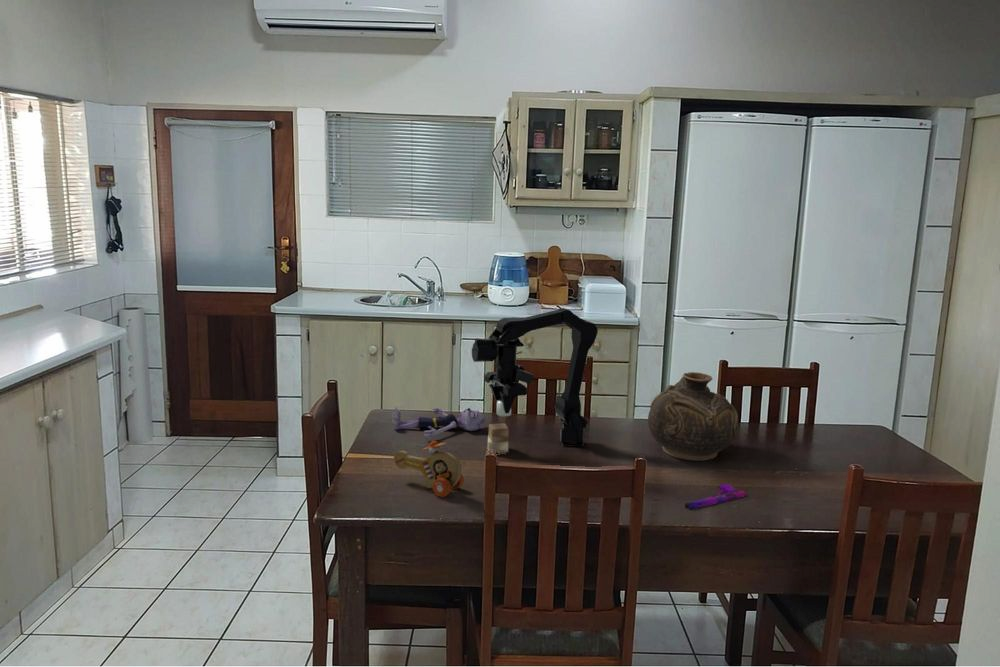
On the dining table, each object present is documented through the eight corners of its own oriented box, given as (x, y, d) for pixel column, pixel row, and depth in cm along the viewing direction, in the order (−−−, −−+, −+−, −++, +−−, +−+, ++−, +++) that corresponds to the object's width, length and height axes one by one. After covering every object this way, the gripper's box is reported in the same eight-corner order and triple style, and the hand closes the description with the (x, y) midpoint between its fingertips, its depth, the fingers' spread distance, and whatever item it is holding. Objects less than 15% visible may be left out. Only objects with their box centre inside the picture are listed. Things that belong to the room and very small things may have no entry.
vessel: (682, 430, 253) (692, 359, 247) (752, 460, 231) (765, 383, 226) (625, 444, 237) (634, 368, 231) (695, 478, 215) (707, 395, 210)
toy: (399, 398, 261) (485, 391, 260) (402, 423, 263) (488, 417, 261) (386, 421, 235) (482, 414, 234) (390, 449, 237) (485, 442, 236)
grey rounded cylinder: (510, 412, 230) (510, 399, 229) (511, 416, 226) (512, 403, 225) (495, 411, 230) (496, 399, 229) (496, 416, 226) (497, 403, 225)
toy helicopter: (450, 500, 193) (451, 449, 190) (385, 483, 203) (385, 434, 200) (467, 489, 200) (468, 440, 197) (404, 473, 210) (404, 426, 207)
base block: (506, 448, 233) (507, 435, 232) (508, 454, 227) (508, 442, 226) (487, 447, 232) (487, 435, 232) (488, 454, 226) (488, 442, 226)
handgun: (726, 488, 208) (726, 481, 207) (747, 498, 201) (748, 491, 201) (669, 501, 198) (670, 494, 197) (690, 512, 191) (690, 505, 191)
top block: (504, 435, 232) (504, 423, 231) (508, 441, 227) (508, 428, 226) (488, 436, 231) (488, 424, 230) (491, 441, 226) (492, 429, 225)
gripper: (544, 366, 220) (541, 417, 223) (517, 352, 236) (515, 400, 239) (510, 368, 215) (507, 420, 218) (484, 354, 232) (482, 403, 235)
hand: (503, 410), depth 228 cm, fingers closed on grey rounded cylinder, 4 cm apart
